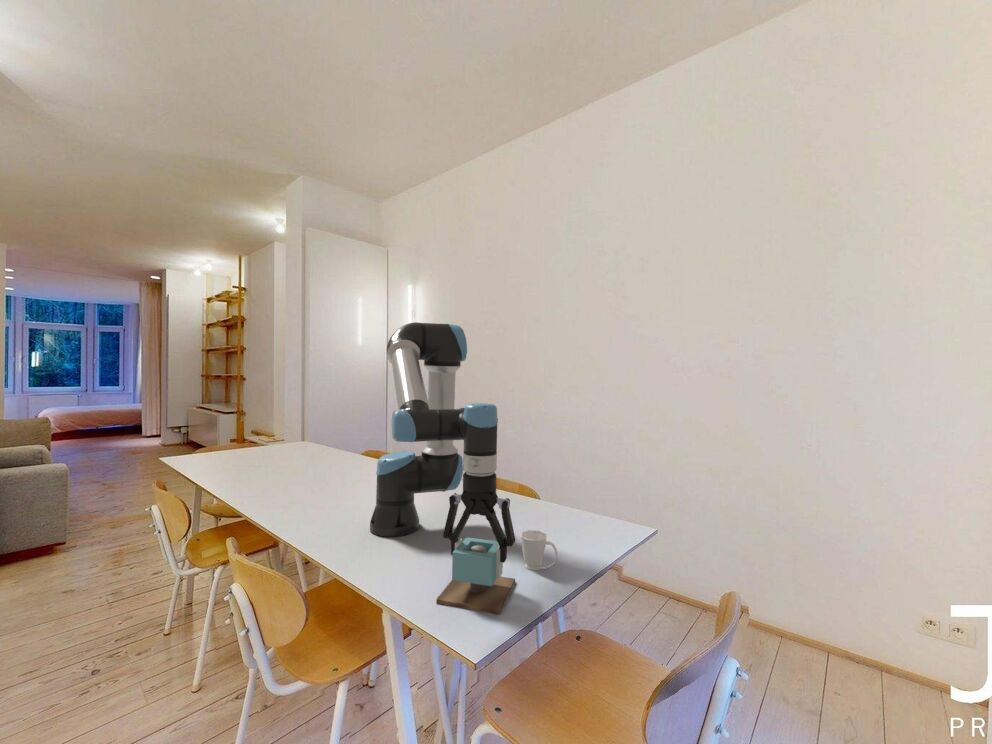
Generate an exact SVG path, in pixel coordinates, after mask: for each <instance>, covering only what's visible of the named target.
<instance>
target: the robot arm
mask: <svg viewBox="0 0 992 744" xmlns="http://www.w3.org/2000/svg"><path fill="white" fill-rule="evenodd" d="M466 337H467V336H466V334H465V331H464V330H463V328H462V327H461V326H460V325H457V324H451V323H435V322H434V323H431V322H430V323H429V322H410V323H409V322H408V323H407V324H404V325H402V326H401V327H399V328H397V329H396V331H394V332H393V334H392V335H391V336H390V338H389V339H388V340H387V341H388V342H387V345H386V356H387V359H388V362H389V363H390V364H391V365H392V366H391V369H392V373H393V380H394V381H393V382H394V386H395V394H396V401H397V409H396V410H395V409H394V411H392V415H391V436H392V439H393V441H395V442H398V443H399V442H401V443H418V442H426V444H425V446H424V447H423V448H422V449H421V455H416V454H415V452H414V451H412V450H408V451H407V450H402V451H401V450H400V451H396V452H390V453H387V454H384V455H382V456H381V457H380V458H378V460H377V462H376V464H377V465H376V472H375V475H376V493H375V496H376V497H375V498H376V499H375V500H376V501H375V507H374V509H373V512H372V514H371V519H370V521H369V531H370V532H371V533H372V534H374V535H376V536H378V537H379V536H380V537H387V538H388V537H390V538H391V537H401V536H406V535H409V534H413V533H414V532H416V531H418V530H419V528H420V518H419V513H418V511H417V507H416V505H415V494H424V493H425V494H426V493H435V492H437V493H439V492H443V493H444V492H448V491H455V490H456V489H457V488H458V487H459V485H460V484H461V481H462V493H461V494H458V493H456V492H454V493H453V494H451V495H450V496H449V499H448V501H449V509H448V513H447V517H446V521H445V526H444V529H443V534H442V537H443V538H444V539H448V540H449V541H450V555H451V556H452V554H453V551H454V550H455V549H456V548H457V547H458V546H459V545H460V544H461V543H462V542H463V538H460V537H461V535H462V532H463V530H464V528H465V526H466V524H467V523H468V521H469V519H470V516H471V515H472V516H473V515H479V516H483V517H485V519H486V520H487V521H488V523H489V525H490V527H491V530H492V533H493V535H494V536H495V539H496V541H497V542H498V544H499V545H498V547H497V548H496V578H497V579H499V578H500V576H501V577H502V575H503V568H502V562H503V563H505V562H506V560H507V559H508V547H509V548H510V547H511V548H512V547H513V546H514V544H515V542H516V536H515V532H514V526H513V521H512V516H511V511H510V507H511V506H510V505H511V499H510V498H509V497H506V498H505V499H504V498H501V497H498V494H497V473H496V472H497V470H498V469H497V466H498V465H497V464H498V463H497V458H498V457H497V456H498V454H497V453H498V452H497V451H498V449H497V448H498V423H499V418H498V407H497V406H496V405H495V404H493V403H481V402H480V403H478V402H475V403H467V404H465V406H464V407H461V408H456V409H455V399H456V396H455V395H456V372H457V371H458V370H459V369H460V368H461V362H465V361H466V359H467V354H468V342H467V338H466ZM420 361H423V365H424V368H426V370H427V371H428V382H427V385H428V390H427V392H426V387H425V384H424V383H425V382H424V378H423V374H422V373H423V372H422V369H421V364H420ZM454 441H463V457H462V455H461V454H460V453H458V448H457V447H455V445H454ZM461 502H462V503H463V505H464V506H465V509H464V511H463V513H462V515H461V517H460V520H459V521H458V523H457V525H456V527H455V529H454V526H455V525H454V524H455V520H456V517H457V514H458V513H457V512H458V508H459V504H460V503H461ZM496 504H497V505H498V508H499V509H500V512H501V513H500V514H501V518H502V524H503V527H504V531H503V528H502V526H501V523H500V521H499V519H498V516H497V514H496V513H497V512H496V509H495V508H494V507H495V506H496ZM453 529H454V530H453ZM504 532H505V533H504Z"/></svg>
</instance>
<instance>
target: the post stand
mask: <svg viewBox="0 0 992 744" xmlns="http://www.w3.org/2000/svg"><path fill="white" fill-rule="evenodd" d="M471 551H473V552H480V553H486V547H484V546H480V545H477V546H473V547H471ZM515 583H516V579H515V578H512V577H508V576H507V577H506V576H502V575H501V576H500V578H499V579H497V578H496V580H495V582H494V583H493V585H492V586H487V585H481V584H474V583H468V582H461V581H455V580H452V579H451V580H450V581H449V583H448V584H447V585H446V587H445V588H444V589H443V591H442V592H441V593H440V594H439V595H438V597H437V598H436V600H435V601H436V604H440V605H445V606H451V607H456V608H462V609H468V610H473V611H478V612H484V613H490V614H493V615H494V614H495V615H496V614H497V615H500V614H501V612H502V610H503V608H504V606H505V604H506V603H507V600H508V598H509V596H510V593H511V592H512V590H513V587H514V585H515Z"/></svg>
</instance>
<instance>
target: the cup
mask: <svg viewBox="0 0 992 744" xmlns="http://www.w3.org/2000/svg"><path fill="white" fill-rule="evenodd" d="M520 541H521V543H520V544H521V549H522V556H523V562H524V568H525V569H527V570H528V571H538V570H547V569H548V568H550V567H552V566H554V565H555V564H556V563H557V561H558V560H559V559H558V558H559V553H558V549H557V546H556V545H555V543H553V542H551V541H547V534H546V533H545V532H542V531H540V530H526V531H522V532H520ZM547 545H550V546H551V547H552V548H553V550H554V553H555V560H554V561H553V562H552V563H551V564H548V565H547V566H542V564H543V563H542V562H543V560H544V555H545V548H546V546H547Z"/></svg>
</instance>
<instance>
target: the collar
mask: <svg viewBox="0 0 992 744" xmlns="http://www.w3.org/2000/svg"><path fill="white" fill-rule="evenodd" d="M477 545H480V546H484V547H486V553H480V552H473V551H471V547H473V546H477ZM498 545H499V544H498V542H497V540H490V539H483V538H482V539H481V538H474V537H473V538H472V537H467V536H466V537H465V538H464V539H463V540H462V543H461V544H460V545H459V546H458V547H457V548H456V549H455V550H454V551H453V554H452V555H451V556H452V559H451V560H452V565H451V566H452V567H451V574H452V575H451V580H455V581H461V582H468V583H474V584H481V585H487V586H492V585H493V583H494V582H495V580H496V548H497V547H498ZM503 563H504V562H502V569H504V565H503Z"/></svg>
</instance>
